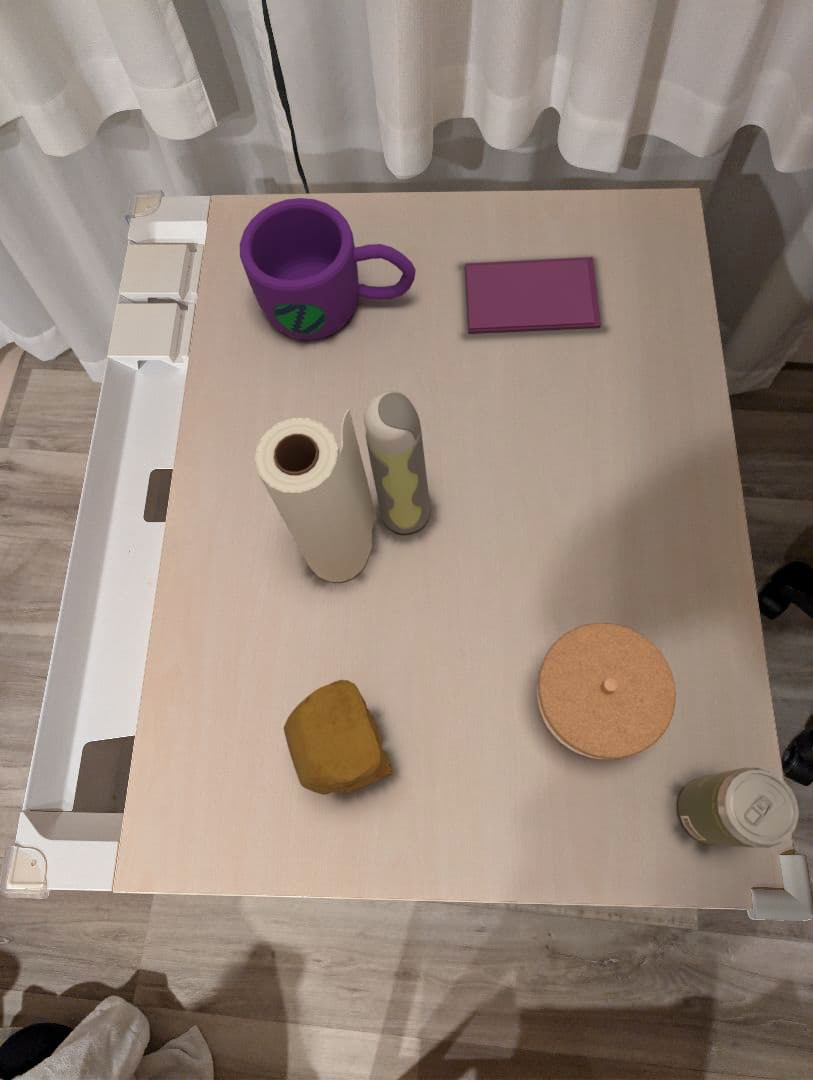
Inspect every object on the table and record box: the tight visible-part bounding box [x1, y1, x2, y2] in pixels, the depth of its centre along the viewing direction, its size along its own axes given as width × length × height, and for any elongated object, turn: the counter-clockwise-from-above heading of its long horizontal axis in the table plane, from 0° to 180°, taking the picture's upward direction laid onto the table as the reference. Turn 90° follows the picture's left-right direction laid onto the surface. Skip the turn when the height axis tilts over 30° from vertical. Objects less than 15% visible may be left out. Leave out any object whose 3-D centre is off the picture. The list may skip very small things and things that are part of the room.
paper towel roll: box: [254, 408, 377, 583], centre depth 65 cm, size 7×6×21 cm
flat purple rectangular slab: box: [464, 256, 602, 334], centre depth 83 cm, size 14×9×1 cm, turn 91°
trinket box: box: [536, 622, 677, 760], centre depth 64 cm, size 11×11×9 cm
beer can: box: [677, 767, 800, 849], centre depth 59 cm, size 5×5×12 cm
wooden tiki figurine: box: [283, 679, 394, 796], centre depth 61 cm, size 7×6×15 cm
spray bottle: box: [363, 391, 431, 535], centre depth 66 cm, size 5×5×20 cm
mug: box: [239, 197, 417, 341], centre depth 80 cm, size 17×11×10 cm, turn 87°
